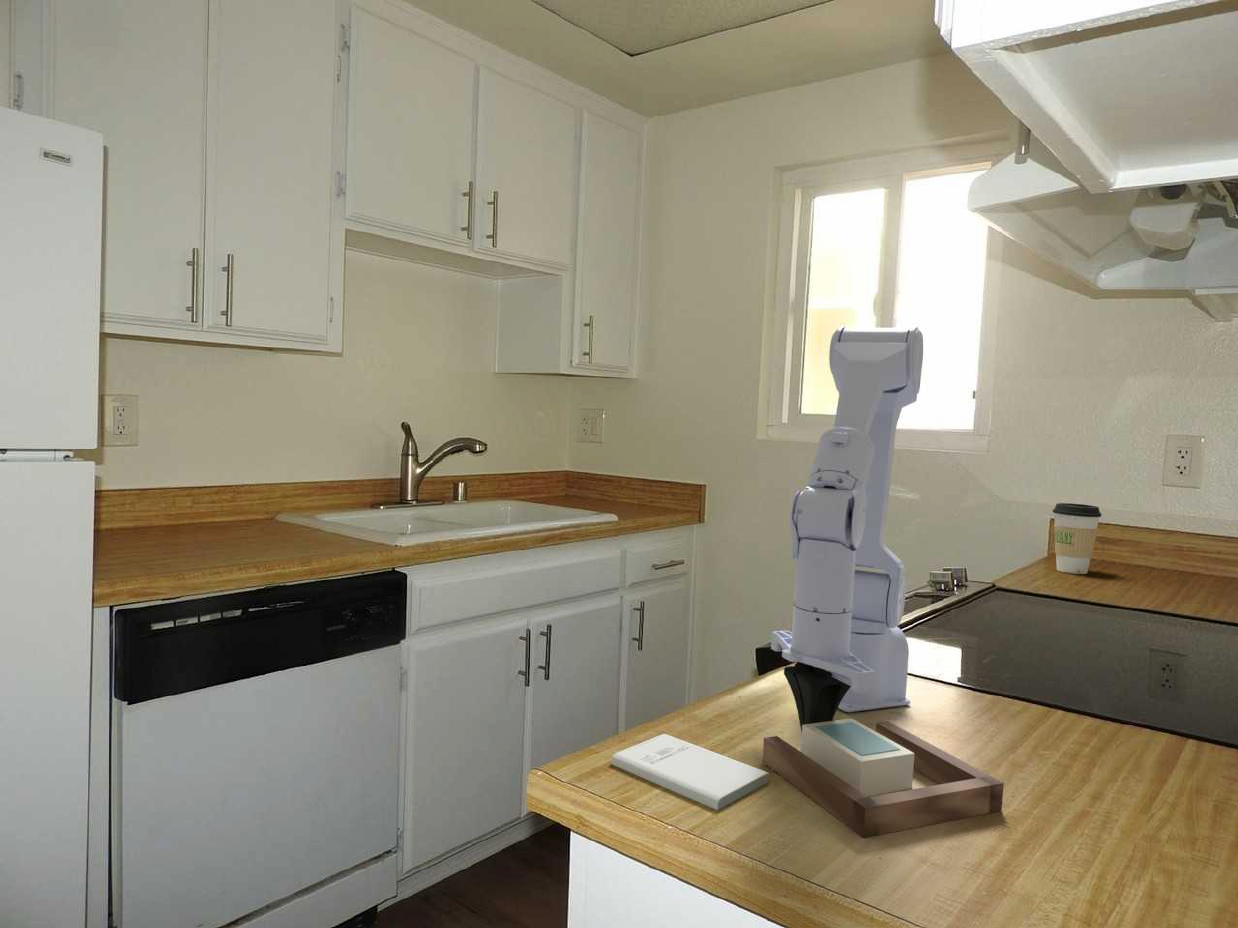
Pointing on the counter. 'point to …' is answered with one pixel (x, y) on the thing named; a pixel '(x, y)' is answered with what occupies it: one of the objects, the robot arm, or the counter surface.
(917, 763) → the frame
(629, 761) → the external hard drive
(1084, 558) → the coffee cup
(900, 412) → the robot arm
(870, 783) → the card box
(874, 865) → the counter surface
